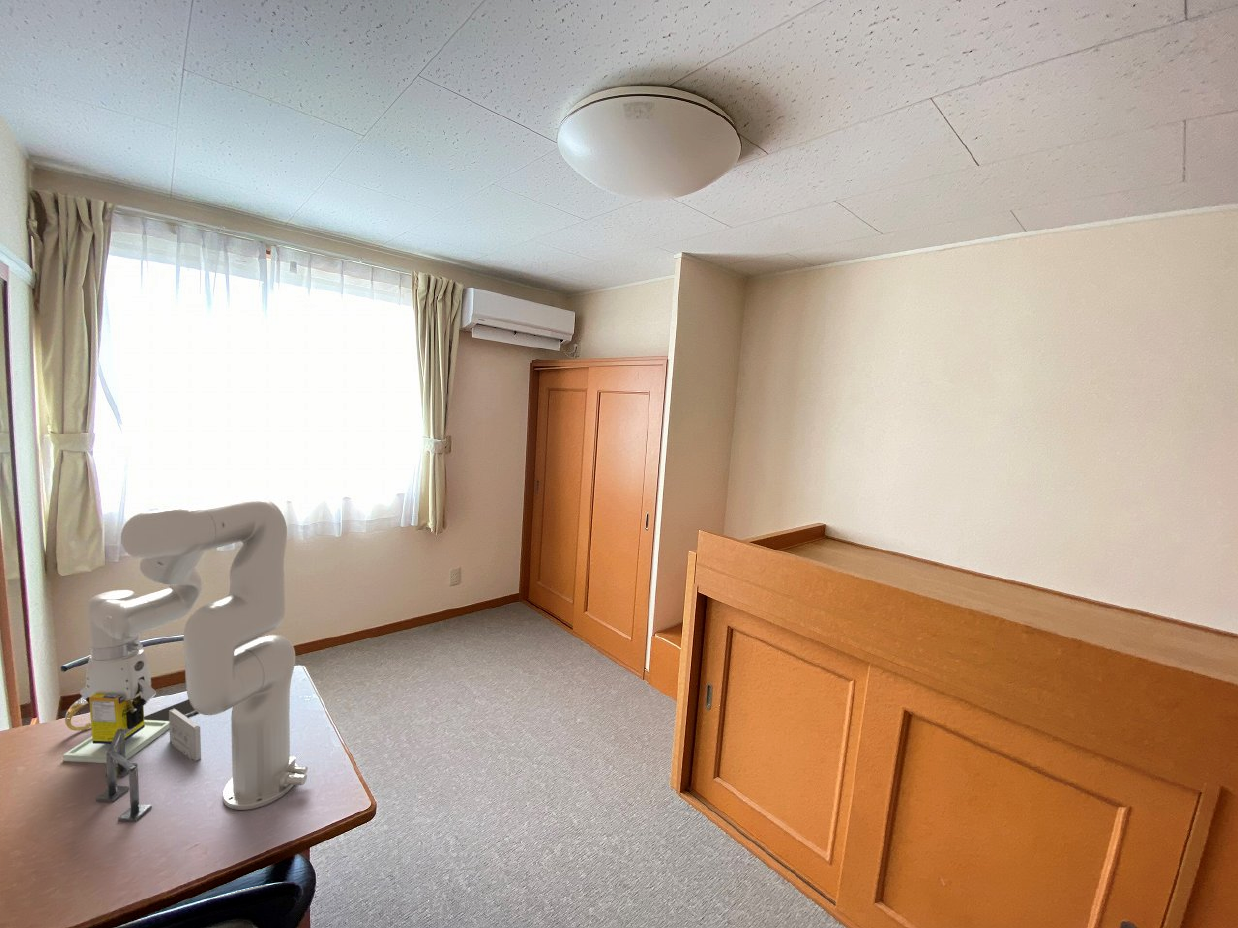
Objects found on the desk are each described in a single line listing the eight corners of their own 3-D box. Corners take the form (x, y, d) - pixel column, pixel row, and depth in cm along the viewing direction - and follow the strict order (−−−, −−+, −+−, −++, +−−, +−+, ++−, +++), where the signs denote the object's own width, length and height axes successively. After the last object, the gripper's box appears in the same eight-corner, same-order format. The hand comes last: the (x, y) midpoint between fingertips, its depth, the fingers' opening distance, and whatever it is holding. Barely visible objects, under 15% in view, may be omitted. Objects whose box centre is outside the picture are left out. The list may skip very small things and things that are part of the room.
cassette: (204, 757, 107) (203, 725, 106) (193, 762, 106) (192, 729, 105) (177, 737, 113) (176, 706, 112) (166, 742, 111) (165, 710, 110)
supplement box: (145, 727, 112) (143, 682, 111) (120, 745, 106) (117, 698, 105) (118, 726, 112) (115, 681, 110) (91, 744, 106) (88, 697, 104)
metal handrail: (154, 813, 93) (152, 767, 92) (104, 835, 88) (101, 787, 86) (135, 760, 105) (133, 718, 104) (90, 777, 100) (87, 733, 99)
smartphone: (121, 724, 114) (205, 691, 128) (121, 729, 115) (206, 695, 128) (132, 737, 111) (218, 702, 124) (132, 741, 111) (218, 705, 125)
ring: (68, 739, 109) (65, 706, 108) (64, 733, 111) (62, 700, 110) (111, 723, 115) (110, 691, 114) (107, 718, 117) (106, 686, 116)
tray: (171, 726, 116) (171, 721, 116) (121, 763, 104) (121, 757, 104) (119, 723, 115) (119, 718, 115) (63, 760, 103) (62, 754, 103)
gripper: (171, 641, 111) (174, 715, 113) (93, 637, 110) (97, 711, 112) (140, 658, 103) (144, 737, 106) (55, 654, 103) (61, 733, 105)
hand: (120, 723), depth 109 cm, fingers closed on supplement box, 6 cm apart
